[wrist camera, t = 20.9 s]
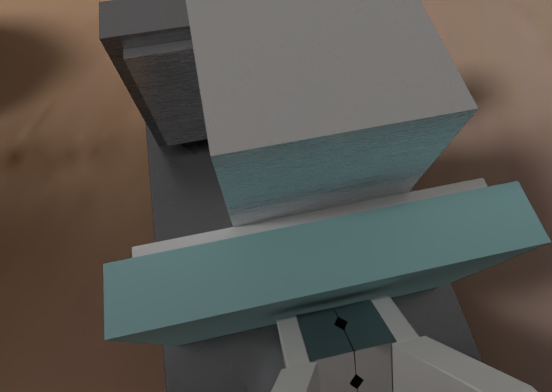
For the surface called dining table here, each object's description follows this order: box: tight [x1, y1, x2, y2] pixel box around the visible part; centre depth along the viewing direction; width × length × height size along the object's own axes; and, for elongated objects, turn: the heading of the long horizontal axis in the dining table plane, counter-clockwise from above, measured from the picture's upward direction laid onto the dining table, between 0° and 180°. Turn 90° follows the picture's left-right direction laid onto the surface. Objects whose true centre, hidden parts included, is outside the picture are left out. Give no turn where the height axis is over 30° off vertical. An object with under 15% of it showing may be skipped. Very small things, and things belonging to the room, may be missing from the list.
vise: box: [99, 0, 483, 392], centre depth 12 cm, size 18×11×7 cm, turn 12°
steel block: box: [186, 0, 478, 227], centre depth 11 cm, size 4×4×9 cm
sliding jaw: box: [103, 178, 551, 346], centre depth 11 cm, size 2×10×6 cm, turn 102°
